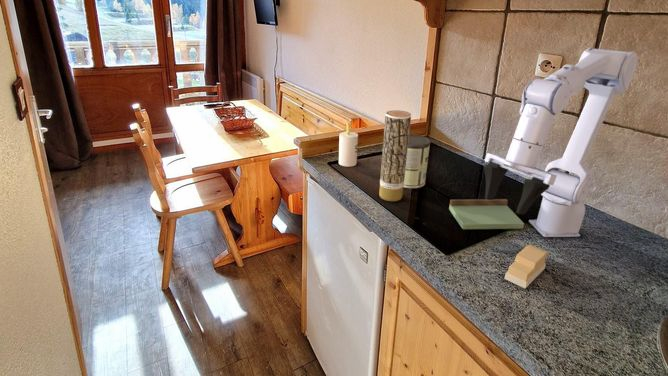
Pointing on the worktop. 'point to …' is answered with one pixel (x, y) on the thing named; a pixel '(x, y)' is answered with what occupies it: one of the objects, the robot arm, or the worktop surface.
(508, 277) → the wooden step block
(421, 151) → the coffee can
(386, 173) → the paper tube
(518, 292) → the worktop surface
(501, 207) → the green board
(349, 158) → the candle
